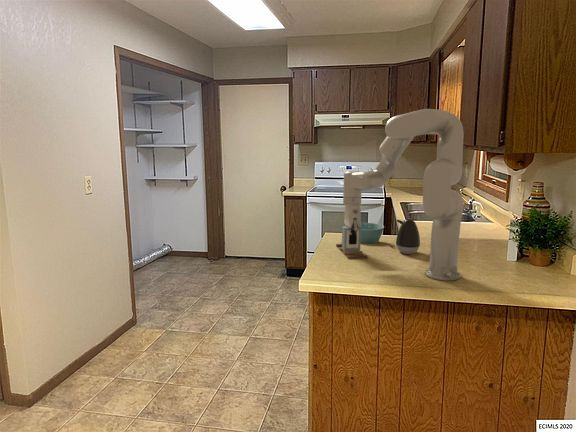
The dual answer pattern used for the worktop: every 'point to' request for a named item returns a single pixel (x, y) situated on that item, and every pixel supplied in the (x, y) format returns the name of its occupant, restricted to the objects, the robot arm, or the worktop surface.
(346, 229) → the picture frame
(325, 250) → the worktop surface
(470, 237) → the worktop surface
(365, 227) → the bowl
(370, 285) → the worktop surface
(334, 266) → the worktop surface
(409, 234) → the pump dispenser
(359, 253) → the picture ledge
